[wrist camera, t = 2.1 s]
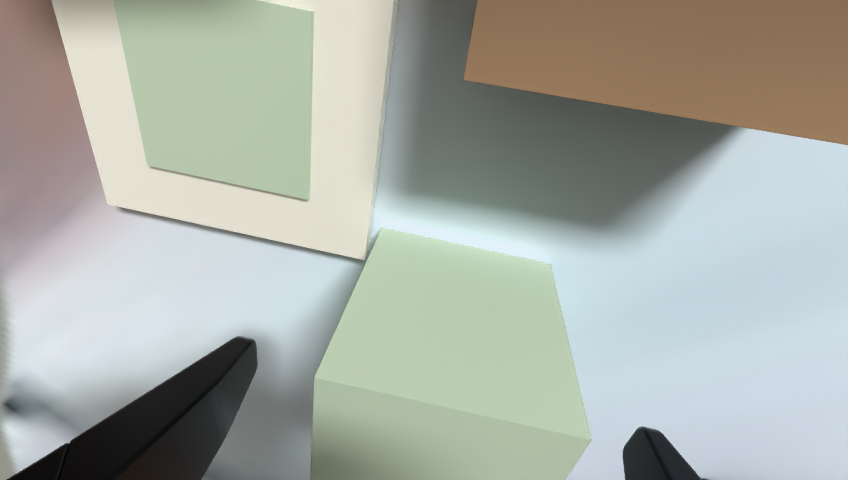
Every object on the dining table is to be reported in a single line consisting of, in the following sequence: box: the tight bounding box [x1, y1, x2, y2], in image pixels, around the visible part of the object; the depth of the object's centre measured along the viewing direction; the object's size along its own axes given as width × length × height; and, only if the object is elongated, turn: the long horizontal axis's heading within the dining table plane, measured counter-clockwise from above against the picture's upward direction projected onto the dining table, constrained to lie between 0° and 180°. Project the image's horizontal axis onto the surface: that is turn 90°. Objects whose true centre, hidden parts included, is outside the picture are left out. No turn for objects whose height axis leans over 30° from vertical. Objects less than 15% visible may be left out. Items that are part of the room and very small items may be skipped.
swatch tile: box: [52, 0, 399, 260], centre depth 9 cm, size 7×7×1 cm
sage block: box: [310, 228, 592, 480], centre depth 10 cm, size 4×4×5 cm
